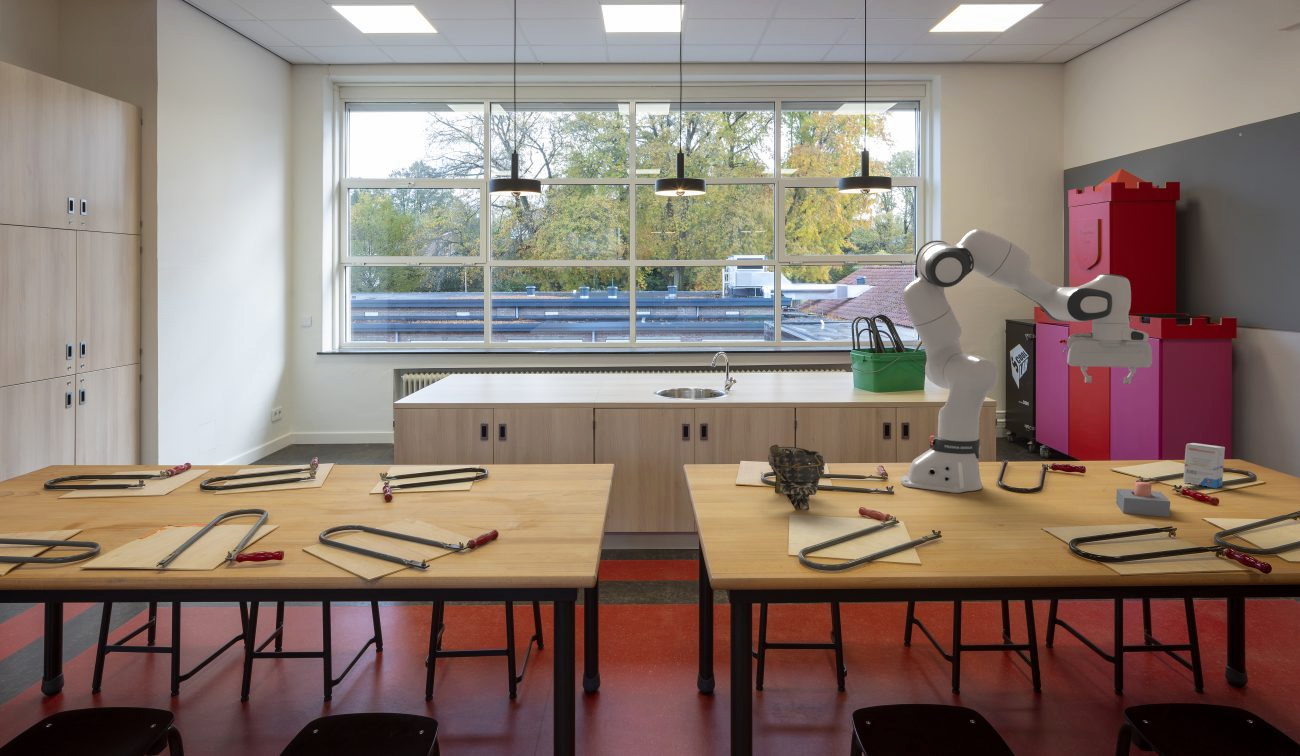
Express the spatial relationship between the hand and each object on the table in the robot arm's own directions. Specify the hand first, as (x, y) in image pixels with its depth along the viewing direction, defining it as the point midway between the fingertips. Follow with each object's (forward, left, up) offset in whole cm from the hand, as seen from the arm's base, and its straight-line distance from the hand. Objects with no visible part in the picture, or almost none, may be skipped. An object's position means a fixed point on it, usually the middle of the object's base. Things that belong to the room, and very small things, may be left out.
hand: (1107, 383), depth 213 cm
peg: (+7, -16, -31) cm, 36 cm away
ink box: (+29, +20, -31) cm, 47 cm away
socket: (+7, -16, -31) cm, 36 cm away
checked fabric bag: (-79, -37, -31) cm, 93 cm away
